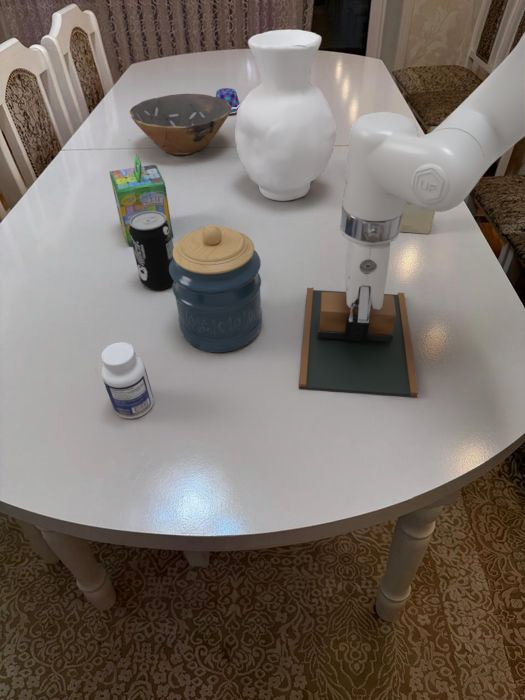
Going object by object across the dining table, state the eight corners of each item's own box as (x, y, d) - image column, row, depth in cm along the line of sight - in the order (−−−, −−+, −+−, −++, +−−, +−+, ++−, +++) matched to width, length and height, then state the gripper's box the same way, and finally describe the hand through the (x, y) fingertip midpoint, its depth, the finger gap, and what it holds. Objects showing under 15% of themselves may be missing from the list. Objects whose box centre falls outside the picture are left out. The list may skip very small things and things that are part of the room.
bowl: (251, 152, 127) (249, 111, 120) (164, 177, 117) (156, 134, 111) (202, 123, 142) (199, 86, 135) (122, 144, 133) (113, 104, 126)
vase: (279, 163, 122) (279, 19, 101) (348, 191, 110) (364, 35, 90) (222, 189, 112) (209, 36, 92) (291, 222, 101) (294, 56, 80)
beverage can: (133, 281, 88) (118, 220, 79) (162, 265, 91) (151, 205, 83) (157, 296, 84) (143, 234, 76) (186, 279, 88) (176, 218, 79)
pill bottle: (119, 389, 69) (102, 337, 62) (157, 389, 69) (144, 337, 62) (109, 419, 65) (89, 368, 59) (149, 420, 65) (134, 368, 58)
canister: (219, 291, 85) (209, 194, 73) (279, 321, 79) (279, 221, 67) (163, 330, 78) (141, 231, 66) (223, 367, 72) (212, 265, 60)
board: (403, 297, 83) (404, 292, 82) (417, 397, 67) (418, 392, 66) (307, 292, 84) (307, 287, 84) (298, 388, 69) (298, 384, 68)
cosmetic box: (397, 232, 98) (409, 172, 89) (397, 221, 101) (408, 162, 92) (430, 234, 97) (445, 174, 88) (429, 223, 100) (443, 163, 92)
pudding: (210, 117, 146) (208, 98, 142) (205, 104, 154) (203, 86, 151) (250, 114, 147) (249, 95, 144) (243, 101, 156) (242, 82, 152)
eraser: (389, 320, 77) (394, 294, 74) (391, 342, 74) (397, 316, 70) (318, 316, 78) (320, 290, 75) (317, 337, 74) (319, 311, 71)
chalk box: (120, 225, 102) (103, 153, 92) (165, 217, 104) (152, 145, 94) (128, 248, 96) (110, 173, 85) (174, 238, 98) (162, 165, 87)
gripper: (407, 259, 57) (383, 369, 69) (395, 190, 69) (376, 294, 81) (341, 256, 57) (329, 365, 70) (340, 188, 69) (330, 292, 82)
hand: (354, 326), depth 75 cm, fingers closed on eraser, 5 cm apart
